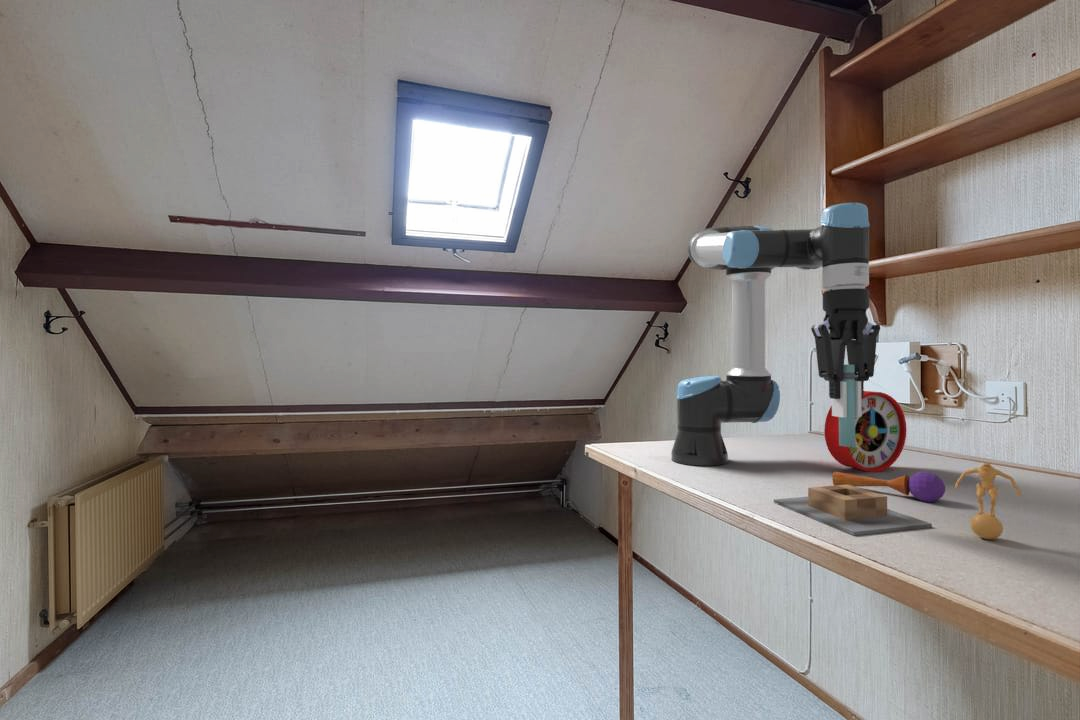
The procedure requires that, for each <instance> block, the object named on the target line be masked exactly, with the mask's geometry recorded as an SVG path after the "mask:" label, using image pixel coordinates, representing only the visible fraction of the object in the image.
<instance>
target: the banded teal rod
mask: <svg viewBox="0 0 1080 720" xmlns="http://www.w3.org/2000/svg"><path fill="white" fill-rule="evenodd" d="M842 382H846V390H847V417H839V445H840V446H846V447H854V446H855V365H848V364H844V368H843V378H842Z"/></svg>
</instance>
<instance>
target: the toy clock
mask: <svg viewBox="0 0 1080 720" xmlns="http://www.w3.org/2000/svg"><path fill="white" fill-rule="evenodd" d="M861 413H862V417H856V416H855V446H854V447H846V446H840V445H839V417H836V416H832V405H831V406H830V407H829V409H828V411H827V414H826V417H825V420H824V421H825V422H824V430H823V431H824V440H825V444H826V447H827V449H828V451H829V453H830V455H831V456H832V458H834V460H835V461H836V462H838V464H839V465H842V466H844V467H847V468H851V469H856V470H861V471H865V472H868V473H869V472H870V473H877V472H882V471H884V470H886V469H888V468H890V467H892V465H893V464H895V462H896V461H897V460H898V458H899V457H900V455H901V454H902V452H903V449H904V447H905V443H906V440H907V422H906V416H905V414H904V411H903V408H901V405H900V404H899V403H898V402H897V400H896V399H895V398H894V397H892V396H891V395H889V394H887V393H885V392H882V391H881V392H880V391H869V390H864V395H863V398H861Z"/></svg>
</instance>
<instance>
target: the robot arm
mask: <svg viewBox="0 0 1080 720" xmlns="http://www.w3.org/2000/svg"><path fill="white" fill-rule="evenodd" d="M820 224H821V225H820V226H818V227H816V228H812V229H808V228H806V229H772V228H771V227H768V226H758V225H747V226H714V227H709V228H705V229H701V230H700V231H698V232H696V233H695V234H694V235H692V237H691V239H690V240H689V242H688V245H687V254H688V257H689V259H690V260H691V262H692V263H693V264H694V265H696V266H698V267H699V268H703V269H707V270H715V271H716V270H719V271H720V270H721V271H722V270H723V271H725V275H726V279H728V280H729V281H730V283H731V369H730V370H728V372H727V373H726V374H725V375H726V380H722V378H721V376H720V375H708V376H698V377H692V378H691V377H690V378H687V379H683V380H681V381H680V382H679V383H678V385H677V391H676V393H677V394H676V400H677V401H676V405H677V406H676V407H677V413H676V415H677V434H676V437H675V440H674V443H673V446H672V449H671V460H672V461H673V462H675V463H677V464H683V465H684V464H685V465H689V466H690V465H692V466H719V465H725V464H727V463H728V462H729V459H728V458H729V454H728V450H727V448H726V445H725V442H724V439H723V436H722V423H723V424H724V423H752V424H756V423H763V422H769V421H771V420H772V419H773V418H774V417H775V415H776V414H777V412H778V411H779V406H780V401H781V391H780V389H779V388H780V386H779V384H778V382H777V381H775V380H773V379H772V374H771V373H770V372H769V371H768V370H767V368H766V281H767V280H768V279H769V277H771V276H772V270H773V269H774V270H775V269H776V268H797V269H799V270H803V271H804V270H805V271H807V270H816V269H819V268H822V270H821V271H822V273H821V275H822V279H821V280H822V282H821V283H822V286H821V287H822V289H823V290H825V291H823V293H822V311H824V313H825V314H824V317H823V320H822V322H821V323H819V324H813V325H812V326H811V327H810V330H811V332H812V334H813V337H814V342H815V343H814V344H815V351H816V362H817V370H818V377H819V378H822V379H824V381H825V382H826V381H827V382H828V388H829V389H828V394H829V395H828V396H829V399H831V406H832V416H836V417H847V390H846V382H842V378H843V368H844V365H845V359H846V358H845V355H847V365H855V416H856V417H862V413H861V398H863V395H864V391H865V389H864V387H865V386H864V382H867V381H869V380H870V378H873V377H874V375H875V364H876V363H875V362H876V361H875V360H876V351H877V339H878V336H879V333H880V330H881V326H880V325H879V324H873V323H871V322H869V319H868V316H867V310H868V309H870V290H869V289H868V288H866V287H868V286H869V285H870V264H869V263H870V226H871V224H870V222H869V209H868V207H867V205H866V204H864V203H861V202H844V203H837V204H833V205H830V206H827V207H826V208H824V210H823V211H822V215H821V221H820Z"/></svg>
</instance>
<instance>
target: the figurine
mask: <svg viewBox="0 0 1080 720" xmlns="http://www.w3.org/2000/svg"><path fill="white" fill-rule="evenodd" d="M972 474H978V476H979V478H980V481H981V483H977V484H976V485H975V486H976V498H977V503H978V504H979V506H978V510H979V511H978V513H977V514H976V515H974V516H973V517H972V518H971V519H970V528H971V530H972V532H973V533H974V534H975V535H976V536H978V537H980V538H982V539H984V540H995V539H997V538H998V539H999V537H1000V536H1002V534H1003V532H1004V526H1003V524H1002V521H1000V519H999V518H997V516H996V515H995V506H997V502H996V501H997V499H998V497H999V496H998V491H999V487H998V486H997V485H993V483H994V482H995V479H996V477H997V476H1000V477H1002V478H1004V479H1007V480H1010V481H1009V482H1010V483H1011V484H1012V486H1013V488H1014V489H1015V490H1016V494H1017V496H1018V498H1022V497H1023V496H1022V492H1021V490H1020V487H1019V486H1018V485H1017V483H1016V482H1015V479H1014V477H1012V476H1011V475H1009V474H1008V473H1004V472H1003V471H1001V470H999V469H996V468H995V467H994V466H992V465H991V463H990V462H988V461H987V462H986V461H985V462H984V463H983V464H982V465H981V466H979V467H974V468H972V469H968V470H965V471H963V472H962V473H961V475H960V477H959V478H958V479H957V480H956V483H955V485H954V490H958V487H959V486H960V485H959V484H960V483H961V482H962V481H963V480H964V477H965V476H966V475H972ZM986 492H988V496H990V497H991V501H990V511H989V513H985V512H984V504H983V503H984V501H983V499H982V497H984V496H985V495H986Z"/></svg>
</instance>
